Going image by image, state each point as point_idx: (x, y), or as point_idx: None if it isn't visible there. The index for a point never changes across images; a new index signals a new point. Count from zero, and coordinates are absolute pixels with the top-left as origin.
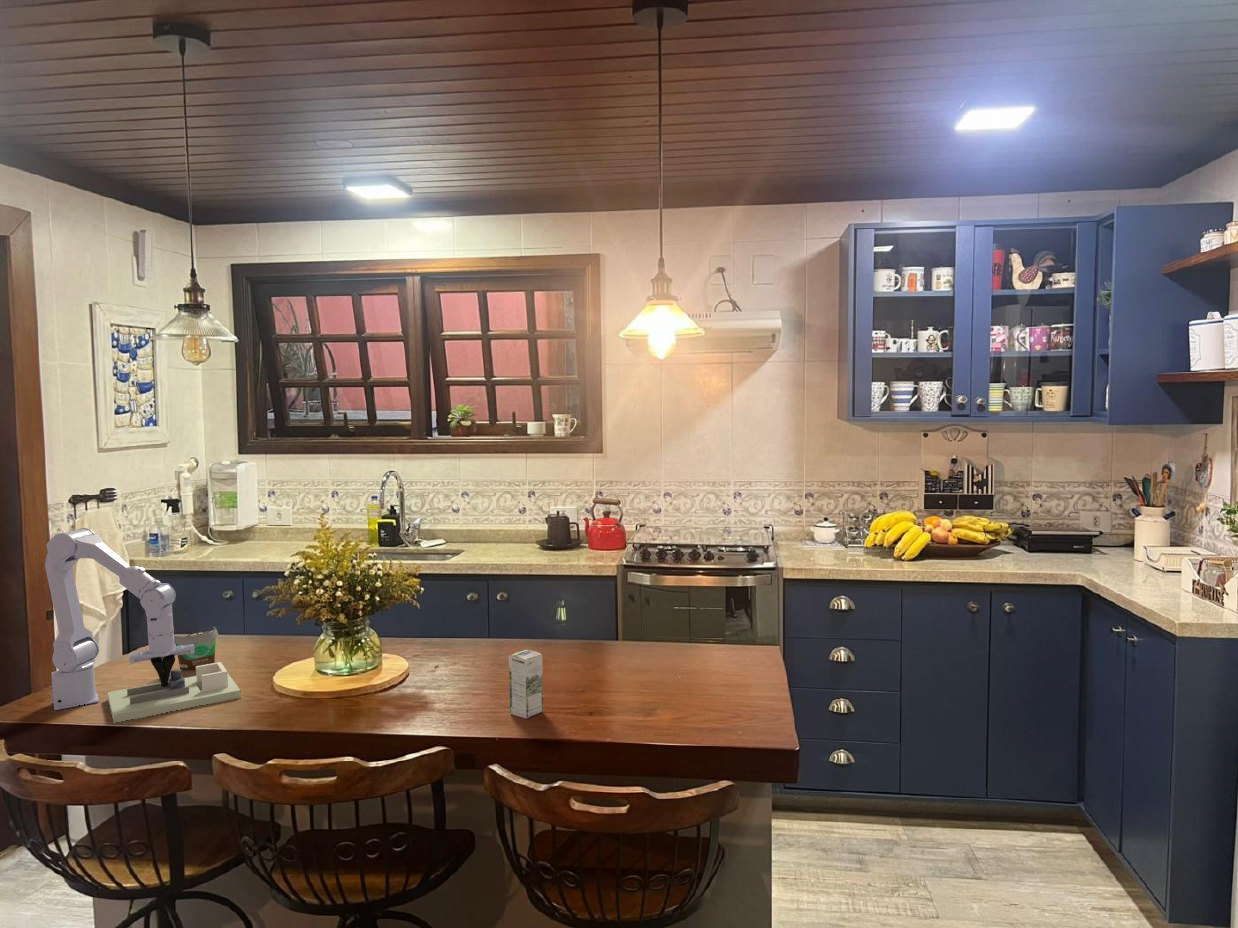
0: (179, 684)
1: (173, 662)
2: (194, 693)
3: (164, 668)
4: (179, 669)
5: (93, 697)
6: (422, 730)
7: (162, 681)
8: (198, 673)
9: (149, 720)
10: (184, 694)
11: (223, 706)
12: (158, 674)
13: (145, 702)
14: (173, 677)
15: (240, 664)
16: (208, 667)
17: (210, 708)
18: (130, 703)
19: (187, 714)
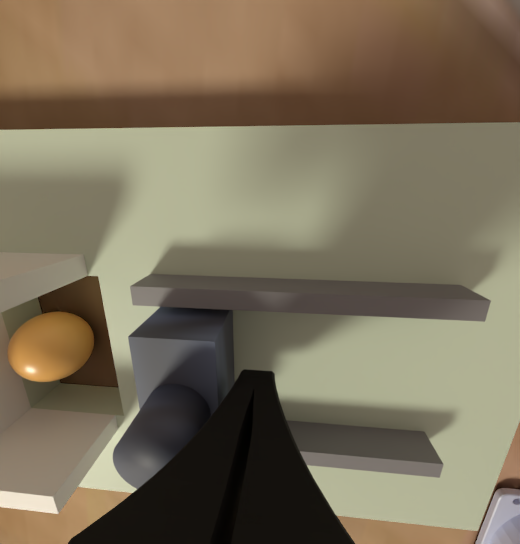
0: (173, 324)
1: (84, 534)
2: (124, 248)
3: (230, 503)
4: (126, 473)
5: (517, 526)
6: None
7: (268, 391)
8: (76, 453)
9: (393, 47)
10: (174, 266)
11: (7, 35)
12: (295, 444)
13: (381, 264)
14: (190, 403)
15: (9, 534)
16: (3, 472)
17: (72, 47)
18: (463, 286)
19: (190, 13)
